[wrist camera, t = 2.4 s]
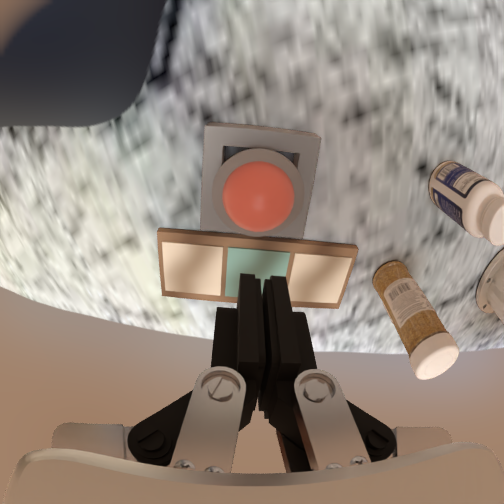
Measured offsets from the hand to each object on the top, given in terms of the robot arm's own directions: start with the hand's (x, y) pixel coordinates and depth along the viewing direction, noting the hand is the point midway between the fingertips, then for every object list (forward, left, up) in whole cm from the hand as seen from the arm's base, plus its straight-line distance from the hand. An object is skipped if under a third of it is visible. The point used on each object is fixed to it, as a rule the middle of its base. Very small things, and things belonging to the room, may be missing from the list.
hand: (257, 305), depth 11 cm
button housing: (0, 0, -17) cm, 17 cm away
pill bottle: (-20, -2, -17) cm, 27 cm away
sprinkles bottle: (-17, +10, -17) cm, 26 cm away
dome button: (0, 0, -15) cm, 15 cm away
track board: (-1, +10, -17) cm, 20 cm away
